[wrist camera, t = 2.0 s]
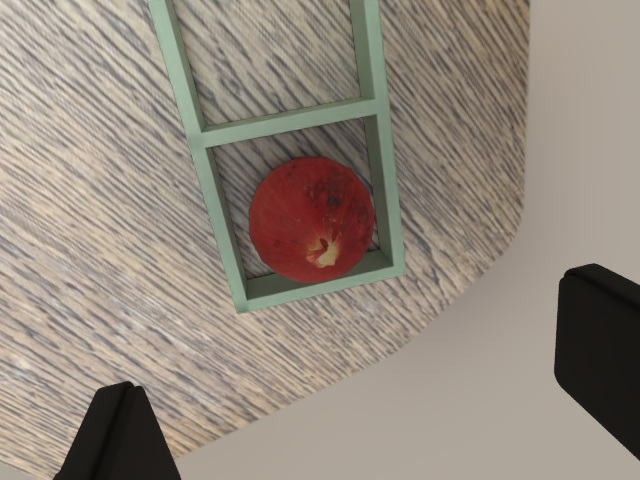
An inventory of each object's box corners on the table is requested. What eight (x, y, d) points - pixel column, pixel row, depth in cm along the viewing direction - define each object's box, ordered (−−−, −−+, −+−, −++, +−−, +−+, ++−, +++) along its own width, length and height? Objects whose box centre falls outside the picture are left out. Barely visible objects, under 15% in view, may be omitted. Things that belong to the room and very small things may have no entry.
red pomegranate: (273, 127, 21) (288, 152, 14) (370, 171, 23) (429, 213, 16) (232, 227, 23) (227, 297, 15) (326, 261, 25) (361, 339, 17)
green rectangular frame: (350, -113, 18) (365, -140, 16) (392, 256, 25) (407, 274, 23) (132, -81, 17) (116, -106, 15) (237, 292, 24) (237, 315, 22)
